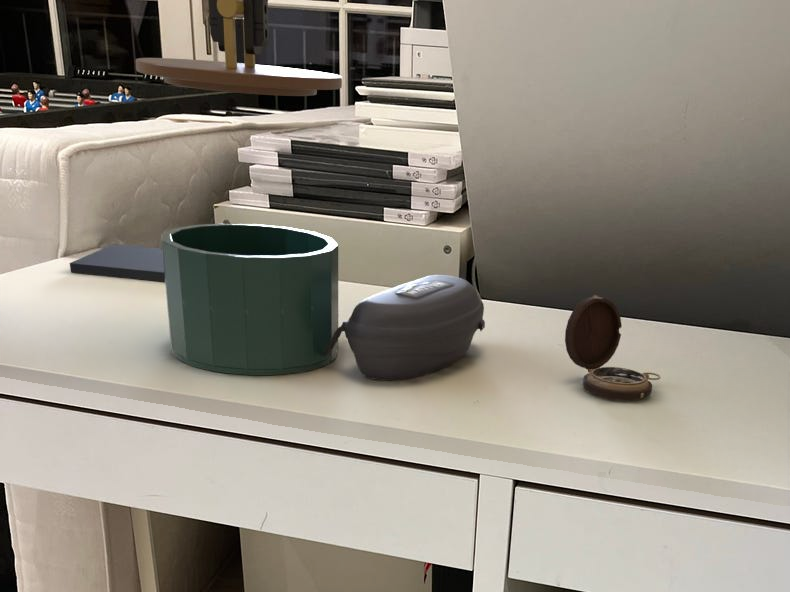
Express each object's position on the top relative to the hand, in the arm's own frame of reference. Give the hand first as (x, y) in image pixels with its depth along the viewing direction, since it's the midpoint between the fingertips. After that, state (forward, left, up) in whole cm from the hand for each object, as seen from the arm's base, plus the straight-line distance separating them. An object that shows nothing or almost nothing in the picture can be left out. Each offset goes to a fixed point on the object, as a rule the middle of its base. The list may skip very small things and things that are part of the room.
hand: (240, 51), depth 76 cm
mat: (-21, +28, -23) cm, 42 cm away
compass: (+33, 0, -23) cm, 41 cm away
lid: (0, 0, -2) cm, 2 cm away
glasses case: (+14, +2, -24) cm, 28 cm away
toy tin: (0, 0, -23) cm, 23 cm away
